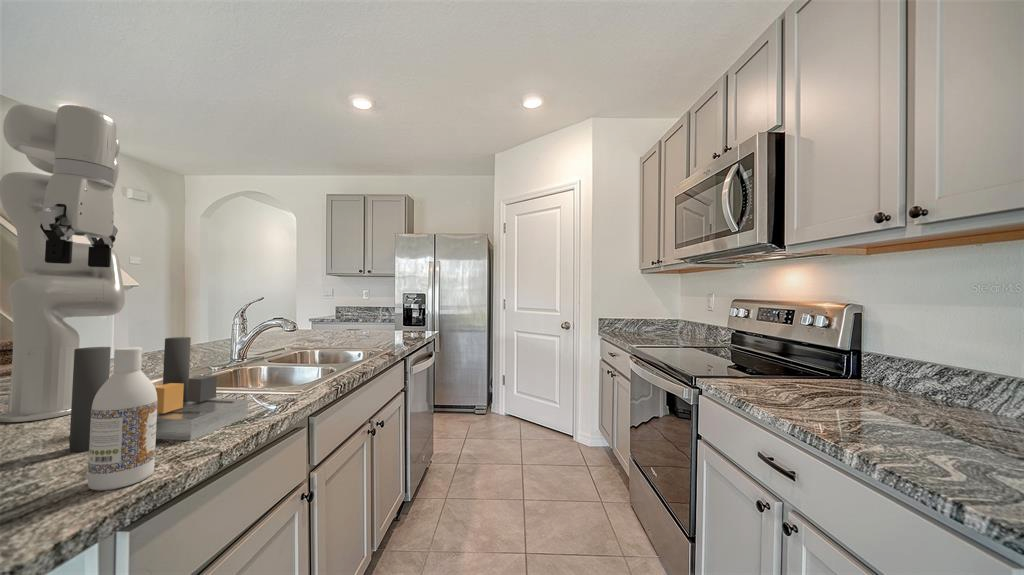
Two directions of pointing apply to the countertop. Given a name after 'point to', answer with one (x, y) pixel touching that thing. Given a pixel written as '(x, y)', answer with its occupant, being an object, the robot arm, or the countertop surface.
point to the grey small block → (202, 388)
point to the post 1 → (86, 392)
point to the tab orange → (169, 397)
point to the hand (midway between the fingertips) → (80, 265)
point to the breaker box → (200, 418)
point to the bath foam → (123, 425)
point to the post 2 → (177, 362)
